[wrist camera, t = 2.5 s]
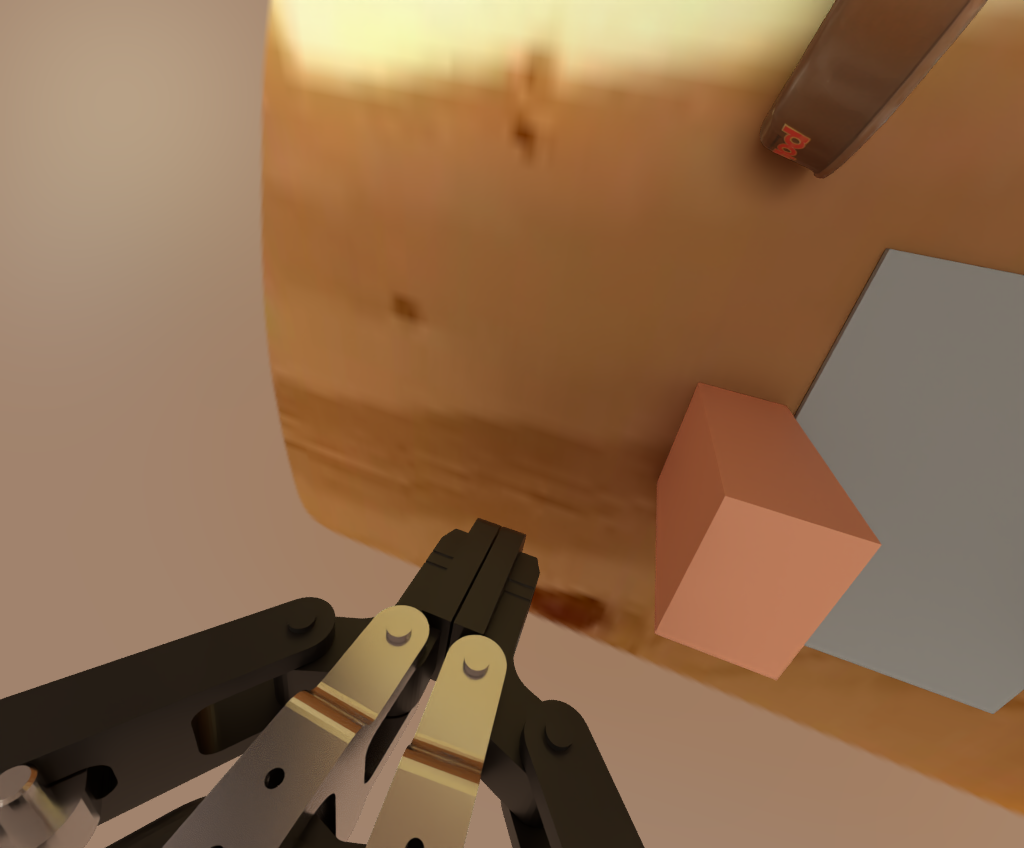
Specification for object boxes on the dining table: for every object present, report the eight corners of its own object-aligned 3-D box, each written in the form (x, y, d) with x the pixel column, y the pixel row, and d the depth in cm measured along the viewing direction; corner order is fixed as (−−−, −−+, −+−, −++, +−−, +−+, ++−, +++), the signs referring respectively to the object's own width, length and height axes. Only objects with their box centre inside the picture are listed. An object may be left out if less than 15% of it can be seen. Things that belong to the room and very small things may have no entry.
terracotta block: (786, 405, 20) (881, 544, 11) (732, 506, 23) (776, 680, 14) (698, 382, 21) (725, 496, 12) (657, 482, 24) (654, 633, 15)
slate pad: (1421, 353, 14) (1436, 356, 14) (989, 708, 23) (993, 714, 23) (886, 248, 17) (889, 248, 16) (693, 601, 26) (693, 605, 26)
